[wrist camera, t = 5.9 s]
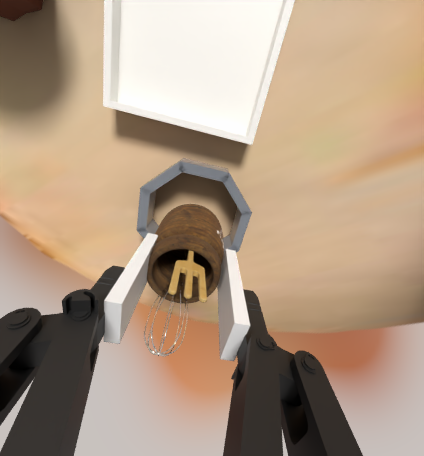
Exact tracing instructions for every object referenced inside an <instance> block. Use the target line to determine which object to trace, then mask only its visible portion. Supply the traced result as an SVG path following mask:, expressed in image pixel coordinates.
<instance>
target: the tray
mask: <svg viewBox="0 0 424 456" xmlns="http://www.w3.org/2000/svg"><path fill="white" fill-rule="evenodd" d="M294 2H295V0H104V83H103V106H105V107H108V108H112V109H115V110H119V111H123V112H127V113H131V114H135V115H138V116H142V117H146V118H150V119H154V120H158V121H161V122H165V123H169V124H173V125H177V126H181V127H184V128H188V129H192V130H196V131H200V132H204V133H207V134H211V135H215V136H219V137H223V138H227V139H230V140H234V141H238V142H242V143H246V144H250V145H252V144H253V140H254V137H255V133H256V130H257V127H258V123H259V120H260V116H261V113H262V110H263V106H264V103H265V100H266V96H267V93H268V89H269V86H270V83H271V79H272V76H273V73H274V69H275V66H276V62H277V59H278V56H279V52H280V49H281V45H282V42H283V39H284V35H285V32H286V29H287V25H288V22H289V18H290V15H291V12H292V8H293V5H294Z"/></svg>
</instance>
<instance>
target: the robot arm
mask: <svg viewBox="0 0 424 456" xmlns="http://www.w3.org/2000/svg"><path fill="white" fill-rule="evenodd" d="M157 238H158V235H156V234H151V233H148V234H147V235H146V237H145V238H144V240H143V242H142V243H141V245H140V246H139V248H138V249H137V251H136V252H135V254H134V255H133V257H132V259H131V260H130V262H129V263H128V265H127V266H126V268H123V267H118V266H112V267H110V268H109V269H107V270H106V271H105V272H104V273H103V275H102V276H101V278H99V280H98V281H97V283H96V284H95V285H94V286H93V287H92V289H91V290H88V289H82V290H77V291H74V292H72V293H70V294H68V295H67V296H65V298H64V299H63V300H62V306H63V313H59V314H51V315H41V313H40V312H39V311H38V310H37V309H34V308H22V309H18V310H15V311H13V312H10V313H8V314H7V315H5V316H4V317H2V318H1V319H0V425H1V424H2V422H3V421H4V420H5V418H6V417H7V415H8V414H9V413H10V411H11V410H12V408H13V407H14V406H15V404H16V403H17V401H18V400H19V399H20V397H21V396H22V394H23V393H24V391H25V390H26V389H27V387H28V386H29V384H30V383H31V382H32V380H33V379H34V380H33V382H32V384H31V387H30V389H29V391H28V393H27V395H26V397H25V400H24V402H23V404H22V406H21V408H20V411H19V413H18V415H17V417H16V419H15V421H14V424H13V426H12V428H11V430H10V432H9V434H8V437H7V439H6V441H5V443H4V445H3V448H2V450H1V452H0V456H74V452H75V448H76V443H77V439H78V435H79V430H80V427H81V422H82V418H83V414H84V409H85V406H86V401H87V397H88V393H89V389H90V385H91V380H92V376H93V372H94V367H95V364H96V359H97V355H98V351H99V343H100V341H101V339H102V337H103V335H104V342H110V343H116V344H120V341H121V339H122V337H123V335H124V333H125V330H126V328H127V326H128V324H129V321H130V319H131V317H132V314H133V312H134V310H135V307H136V305H137V303H138V301H139V299H140V296H141V294H142V292H143V290H144V287H145V285H146V283H147V271H148V263H149V258H150V255H151V252H152V249H153V247H154V246H155V245H156V242H157ZM218 314H219V344H220V359H224V360H230V361H234V360H235V358H236V356H237V358H238V365H237V367H236V369H235V371H234V373H233V375H232V378H231V379H234V383H233V391H232V398H231V404H230V411H229V418H228V426H227V432H226V439H225V446H224V453H223V456H283V448H282V447H283V446H282V430H283V434H284V438H285V443H286V448H287V452H288V456H363V455H362V453H361V450H360V448H359V446H358V444H357V442H356V439H355V437H354V435H353V433H352V431H351V429H350V427H349V424H348V422H347V420H346V418H345V415H344V413H343V411H342V409H341V407H340V404H339V402H338V400H337V398H336V396H335V394H334V391H333V389H332V387H331V385H330V383H329V381H328V378H327V376H326V374H325V372H324V369H323V367H322V366H321V364H320V362H319V361H318V360H317V359H316V358H315V357H314V356H313V355H312V354H310V353H309V352H306V351H298V352H296V353H295V355H294V354H292V353H289V352H287V351H285V350H283V349H281V348H280V347H278V346H277V344H276V342H275V341H274V339H273V338H272V337H271V336H270V335H269V334H268V332H267V328H266V325H265V321H264V318H263V314H262V312H261V307H260V303H259V300H258V297H257V296H256V294H255V293H254V292H253V291H250V290H244V289H243V286H242V281H241V276H240V271H239V266H238V261H237V256H236V251H234V250H229V249H226V250H225V253H224V257H223V261H222V265H221V275H220V279H219V283H218ZM34 377H35V378H34Z"/></svg>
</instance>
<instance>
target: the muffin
mask: <svg viewBox="0 0 424 456" xmlns="http://www.w3.org/2000/svg"><path fill="white" fill-rule="evenodd" d="M42 4H43V0H0V16H1V17H4V18H7V19H9V20H12V21H15V20H16V19H18V18H20V17H21V16H23V15H25V14H26V13H30V12H34V11H38V10H41V9H42Z"/></svg>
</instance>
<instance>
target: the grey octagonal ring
mask: <svg viewBox="0 0 424 456" xmlns="http://www.w3.org/2000/svg"><path fill="white" fill-rule="evenodd" d="M182 172H183V173H188V174H192V175H196V176H200V177H204V178H209V179H213V180H217V181H221V182H223V183H224V185H225V186H226V188H227V190H228V192H229V193H230V195H231V197H232V198H233V200H234V202H235V203H236V205H237V207H238V208H237V212H236V215H235V218H234V221H233V225H232V228H231V231H230V235H228V236H226V237H225V238H223V242H224V253H225V250H226V249H229V250H234V251H236V252H238V251H239V249H240V246H241V243H242V240H243V237H244V234H245V231H246V228H247V225H248V222H249V219H250V217H251V214H252V212H251V210H250V208H249V206H248V205H247V203H246V201H245V200H244V198H243V196H242V194H241V192H240V191H239V189H238V187H237V185H236V184H235V182H234V180H233V178H232V177H231V175H230V173H229V171H228V169H227V168H223V167H219V166H214V165H210V164H206V163H202V162H198V161H194V160H190V159H186V158H183V159H181V160H180V161H179V162H177V163H176V164H174V165H173V166H171V167H170V168H168V169H167V170H165V171H164V172H162V173H161V174H159V175H158V176H156V177H155V178H153V179H152V180H150V181H149V182H147V183H146V184H145V185H143V186H142V187H141V188H140V199H139V211H138V222H137V231H138V232H139V234H140V235H141V236H142V237H143V238H145V237H146V235H147V234H148V233H151V234H155V233H156V231H157V229H158V227H159V226H158V225H157V223H156V222H155V221H154V220H153V215H154V206H155V198H156V190H157V189H158V188H159V187H161V186H162V185H164V184H166V183H167V182H169V181H170V180H172V179H173V178H175V177H176V176H178V175H179V174H181V173H182Z"/></svg>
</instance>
